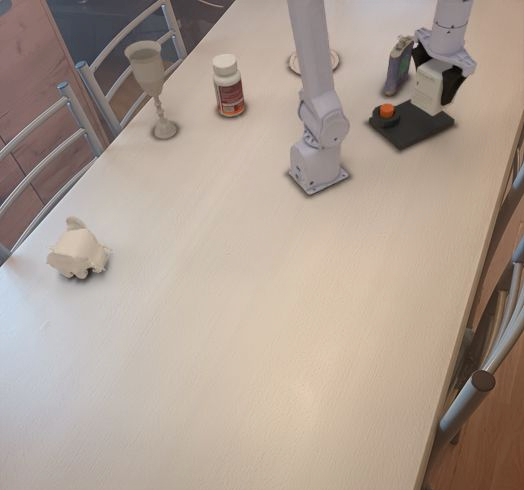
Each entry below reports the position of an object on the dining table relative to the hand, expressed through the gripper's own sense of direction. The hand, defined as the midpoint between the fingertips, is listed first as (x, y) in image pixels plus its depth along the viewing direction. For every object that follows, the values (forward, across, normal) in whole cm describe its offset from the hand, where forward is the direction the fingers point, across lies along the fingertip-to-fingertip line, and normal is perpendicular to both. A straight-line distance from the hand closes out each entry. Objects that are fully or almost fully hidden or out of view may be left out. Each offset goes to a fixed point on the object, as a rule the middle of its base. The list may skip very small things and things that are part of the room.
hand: (433, 94), depth 97 cm
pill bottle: (+10, +33, +29) cm, 45 cm away
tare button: (+7, +8, +4) cm, 11 cm away
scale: (+9, +5, 0) cm, 11 cm away
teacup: (+10, +37, +4) cm, 38 cm away
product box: (+2, 0, 0) cm, 2 cm away
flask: (+10, +18, -6) cm, 21 cm away
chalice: (+10, +35, +45) cm, 58 cm away
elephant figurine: (+9, +6, +74) cm, 75 cm away
